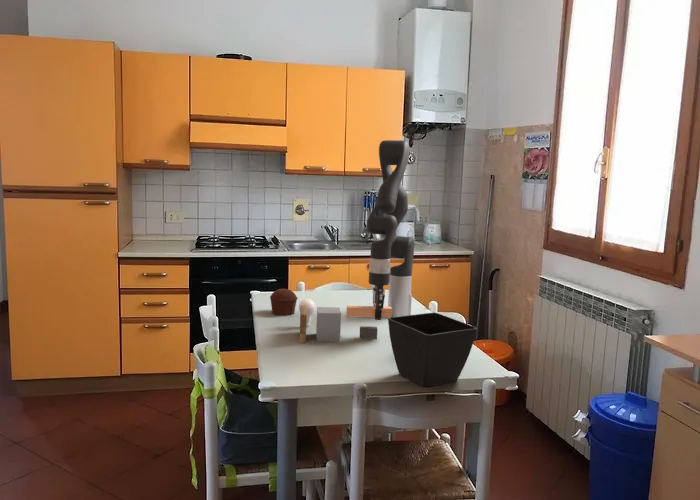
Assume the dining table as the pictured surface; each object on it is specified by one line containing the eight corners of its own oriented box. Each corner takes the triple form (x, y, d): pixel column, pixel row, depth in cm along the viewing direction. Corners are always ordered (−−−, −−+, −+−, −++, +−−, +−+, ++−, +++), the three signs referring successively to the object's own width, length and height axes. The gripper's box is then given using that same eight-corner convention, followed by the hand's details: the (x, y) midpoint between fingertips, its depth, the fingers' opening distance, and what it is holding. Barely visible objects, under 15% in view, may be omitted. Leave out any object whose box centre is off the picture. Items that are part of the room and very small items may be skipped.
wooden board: (305, 331, 217) (305, 305, 215) (305, 342, 203) (306, 314, 201) (299, 331, 216) (300, 305, 215) (299, 342, 203) (300, 314, 201)
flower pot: (474, 383, 171) (479, 326, 169) (424, 394, 161) (428, 334, 158) (431, 363, 187) (435, 311, 184) (383, 372, 176) (386, 318, 174)
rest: (375, 337, 214) (376, 326, 213) (377, 339, 211) (377, 328, 210) (359, 336, 213) (359, 326, 212) (360, 339, 210) (360, 328, 210)
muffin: (264, 311, 244) (264, 288, 242) (287, 308, 250) (287, 285, 249) (279, 318, 234) (279, 293, 233) (302, 314, 241) (303, 291, 240)
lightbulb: (311, 330, 219) (312, 301, 218) (296, 328, 220) (296, 299, 219) (316, 326, 225) (317, 297, 223) (300, 324, 226) (301, 296, 225)
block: (338, 334, 215) (339, 307, 214) (340, 341, 206) (341, 313, 205) (316, 333, 215) (317, 306, 213) (317, 341, 206) (318, 313, 204)
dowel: (390, 315, 213) (390, 306, 213) (391, 317, 210) (392, 308, 209) (346, 314, 211) (346, 305, 211) (347, 316, 208) (347, 307, 208)
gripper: (393, 274, 202) (390, 323, 204) (387, 268, 216) (384, 314, 218) (371, 273, 201) (369, 323, 204) (366, 267, 215) (364, 313, 218)
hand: (377, 318), depth 211 cm, fingers closed on dowel, 3 cm apart
